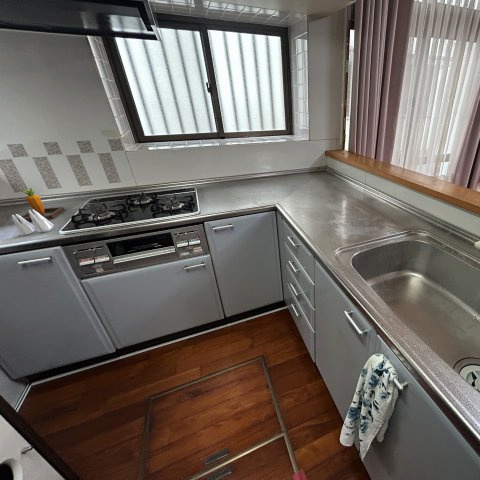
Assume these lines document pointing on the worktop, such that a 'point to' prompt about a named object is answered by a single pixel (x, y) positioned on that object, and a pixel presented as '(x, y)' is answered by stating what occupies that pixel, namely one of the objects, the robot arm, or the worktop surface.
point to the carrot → (35, 201)
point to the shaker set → (38, 221)
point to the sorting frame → (55, 213)
